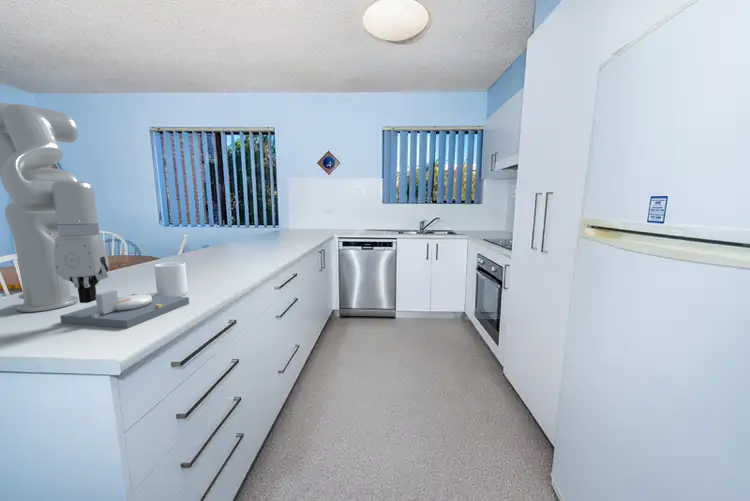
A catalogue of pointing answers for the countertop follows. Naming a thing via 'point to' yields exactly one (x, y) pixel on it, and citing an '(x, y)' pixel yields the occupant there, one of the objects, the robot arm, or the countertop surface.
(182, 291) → the mug
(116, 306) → the dial
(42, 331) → the countertop surface
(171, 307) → the panel
